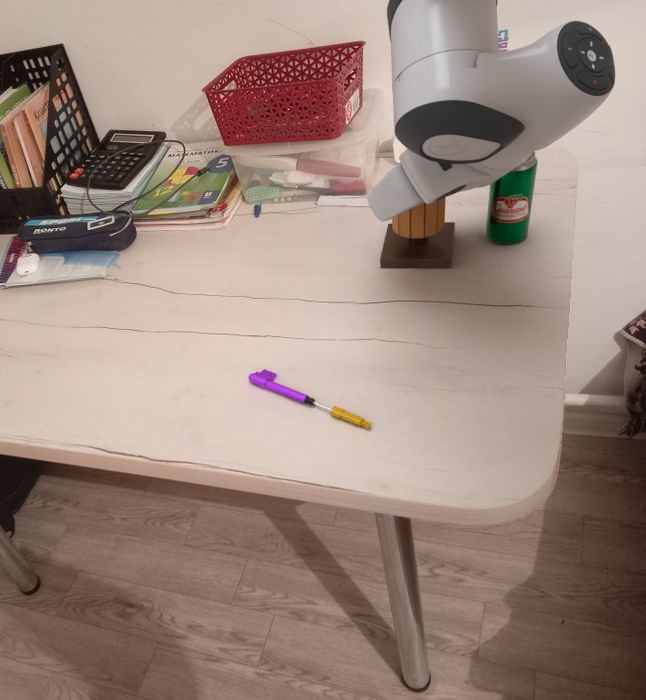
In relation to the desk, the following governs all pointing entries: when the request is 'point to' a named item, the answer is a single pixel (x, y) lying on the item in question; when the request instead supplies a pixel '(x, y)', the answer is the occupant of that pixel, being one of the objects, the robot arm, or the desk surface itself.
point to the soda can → (511, 204)
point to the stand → (418, 249)
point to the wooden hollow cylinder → (421, 220)
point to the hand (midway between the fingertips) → (415, 194)
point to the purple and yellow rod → (302, 396)
